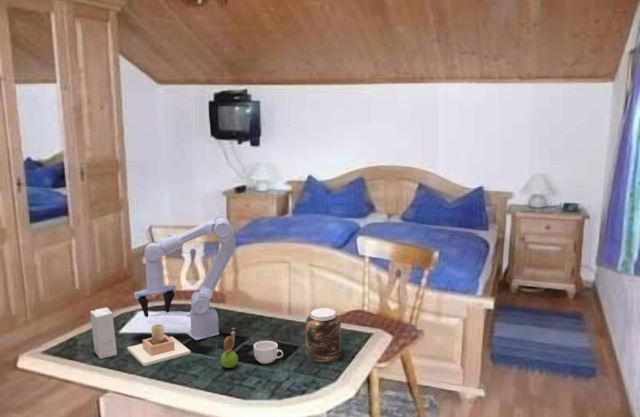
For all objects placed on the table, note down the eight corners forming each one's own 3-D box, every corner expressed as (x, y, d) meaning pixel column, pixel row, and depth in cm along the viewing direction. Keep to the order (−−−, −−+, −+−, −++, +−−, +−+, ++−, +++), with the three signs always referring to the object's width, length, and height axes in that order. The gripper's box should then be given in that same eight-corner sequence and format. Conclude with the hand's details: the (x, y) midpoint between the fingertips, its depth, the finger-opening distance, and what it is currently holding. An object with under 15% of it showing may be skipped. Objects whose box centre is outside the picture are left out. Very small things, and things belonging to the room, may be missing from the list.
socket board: (172, 338, 207) (171, 328, 207) (190, 353, 195) (190, 342, 194) (127, 349, 198) (126, 338, 197) (144, 366, 185) (143, 354, 185)
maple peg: (165, 346, 199) (164, 324, 197) (164, 351, 195) (163, 328, 193) (153, 347, 198) (152, 324, 197) (152, 351, 194) (150, 329, 193)
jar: (307, 347, 199) (307, 306, 197) (341, 348, 198) (341, 306, 196) (304, 362, 188) (304, 318, 185) (340, 363, 187) (340, 318, 184)
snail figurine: (242, 363, 187) (241, 328, 185) (233, 372, 181) (232, 335, 179) (227, 361, 189) (226, 326, 187) (217, 369, 183) (216, 333, 181)
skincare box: (117, 355, 194) (114, 313, 191) (98, 359, 191) (95, 316, 188) (111, 347, 201) (108, 306, 198) (92, 351, 197) (89, 309, 195)
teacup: (249, 363, 187) (249, 348, 186) (260, 354, 194) (259, 339, 193) (278, 368, 183) (277, 352, 182) (287, 358, 191) (287, 343, 190)
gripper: (170, 271, 211) (171, 306, 213) (130, 278, 203) (132, 315, 205) (177, 275, 205) (179, 312, 208) (137, 282, 197) (139, 320, 199)
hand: (156, 313), depth 206 cm, fingers open, 7 cm apart
